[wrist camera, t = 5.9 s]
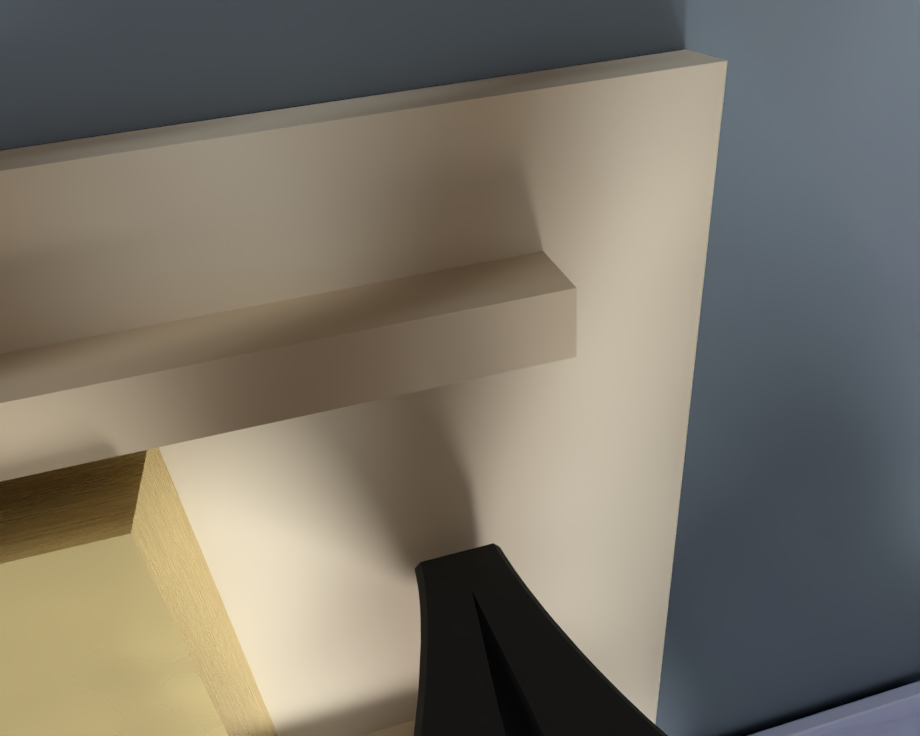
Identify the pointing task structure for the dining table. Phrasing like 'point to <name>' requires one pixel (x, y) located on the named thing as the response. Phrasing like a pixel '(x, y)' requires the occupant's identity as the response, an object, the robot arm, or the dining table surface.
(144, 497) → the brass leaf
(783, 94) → the dining table surface
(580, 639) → the jig board
